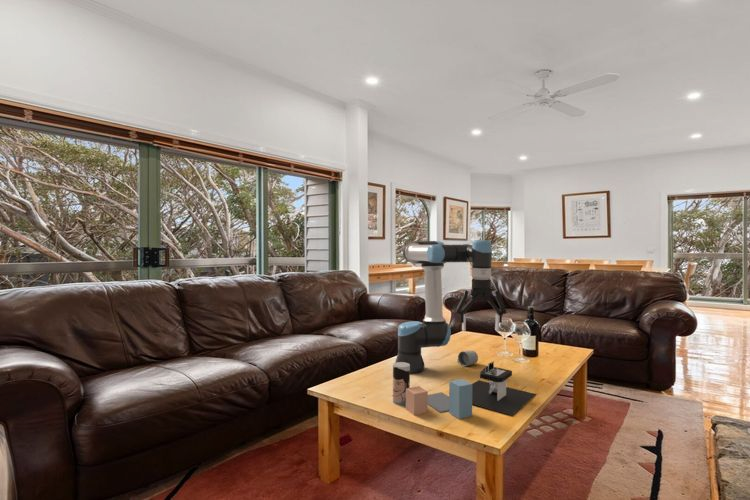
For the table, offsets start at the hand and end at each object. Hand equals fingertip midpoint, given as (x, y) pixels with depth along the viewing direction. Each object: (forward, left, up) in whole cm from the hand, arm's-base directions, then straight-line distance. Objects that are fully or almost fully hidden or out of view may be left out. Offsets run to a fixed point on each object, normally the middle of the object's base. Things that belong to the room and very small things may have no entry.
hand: (480, 330), depth 163 cm
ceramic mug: (-41, +25, -29) cm, 56 cm away
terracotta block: (-2, -29, -28) cm, 41 cm away
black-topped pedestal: (0, +8, -28) cm, 29 cm away
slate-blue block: (+8, -16, -28) cm, 33 cm away
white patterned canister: (-12, -30, -29) cm, 43 cm away
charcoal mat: (-5, -16, -28) cm, 33 cm away
